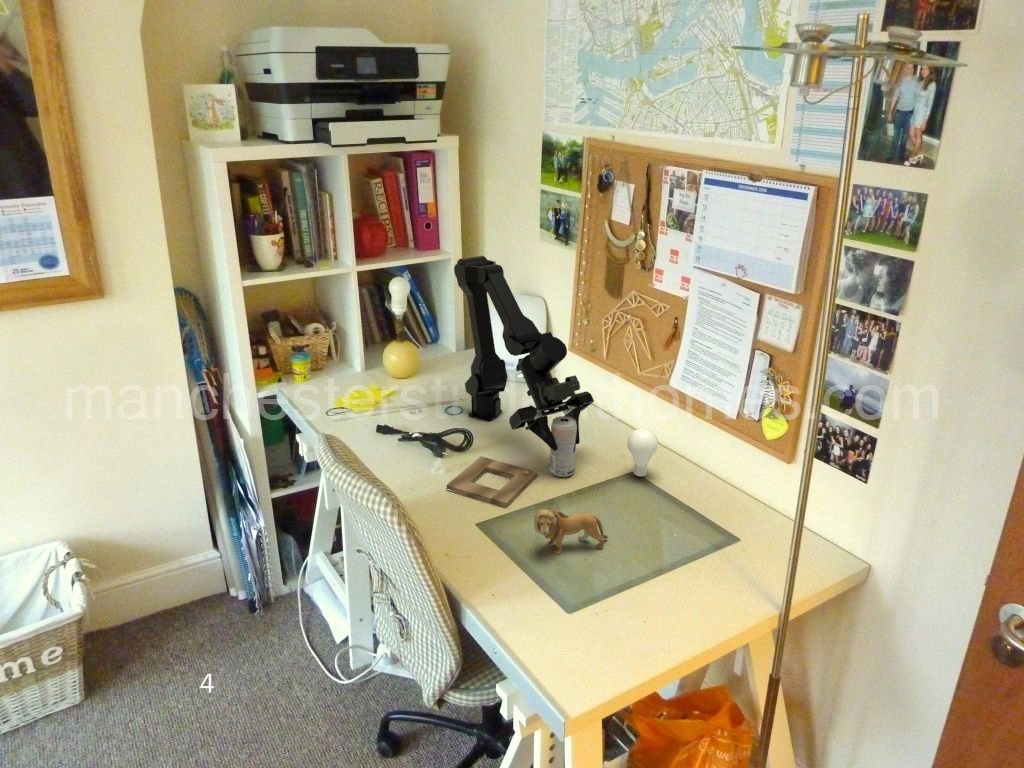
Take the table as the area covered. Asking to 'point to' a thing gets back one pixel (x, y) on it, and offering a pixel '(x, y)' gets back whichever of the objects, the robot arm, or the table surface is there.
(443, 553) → the table surface
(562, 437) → the energy drink
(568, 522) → the lion figurine
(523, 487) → the pocket plate
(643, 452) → the lightbulb
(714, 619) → the table surface
